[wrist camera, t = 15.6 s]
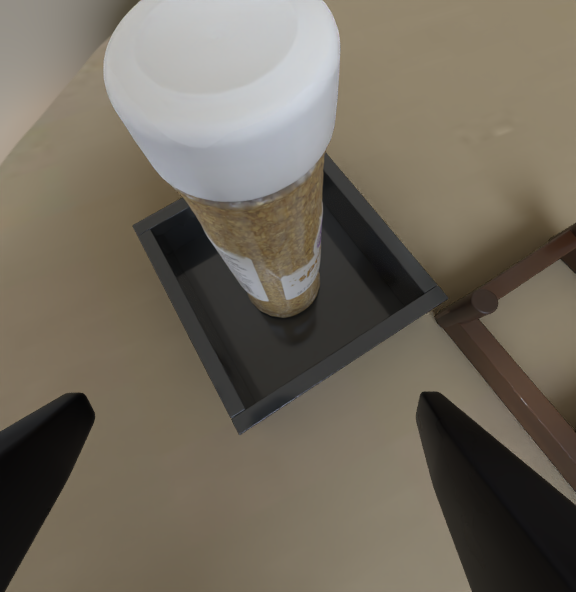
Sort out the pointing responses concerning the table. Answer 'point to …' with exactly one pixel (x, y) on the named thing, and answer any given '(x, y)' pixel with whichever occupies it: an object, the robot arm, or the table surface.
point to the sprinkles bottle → (237, 127)
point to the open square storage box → (299, 328)
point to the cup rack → (498, 363)
